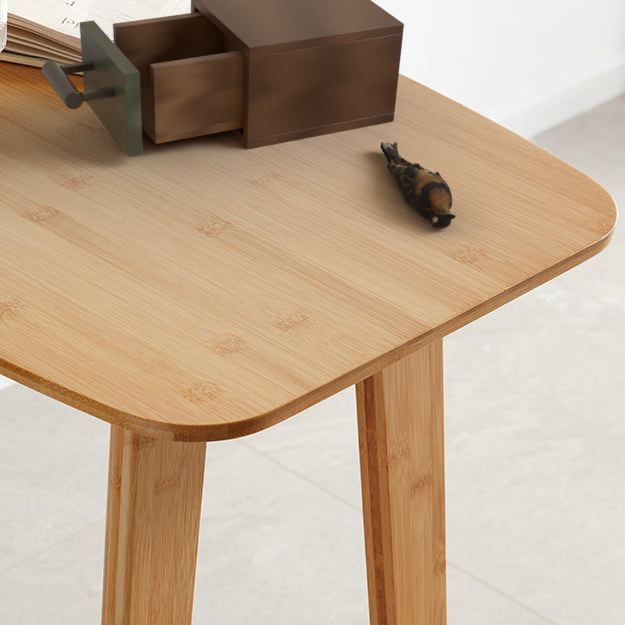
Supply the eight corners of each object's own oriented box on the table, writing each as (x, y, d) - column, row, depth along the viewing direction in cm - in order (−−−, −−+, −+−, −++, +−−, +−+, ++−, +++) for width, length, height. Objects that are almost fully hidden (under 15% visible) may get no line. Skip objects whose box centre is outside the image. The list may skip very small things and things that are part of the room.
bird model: (424, 243, 80) (428, 210, 79) (371, 153, 91) (374, 123, 89) (466, 239, 81) (471, 207, 80) (409, 150, 92) (412, 120, 90)
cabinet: (247, 149, 90) (249, 47, 85) (191, 89, 98) (190, -7, 93) (393, 121, 96) (404, 23, 90) (329, 66, 104) (335, -26, 99)
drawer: (78, 166, 85) (72, 82, 81) (38, 108, 92) (30, 28, 88) (275, 130, 91) (279, 50, 87) (223, 78, 98) (224, 2, 94)
